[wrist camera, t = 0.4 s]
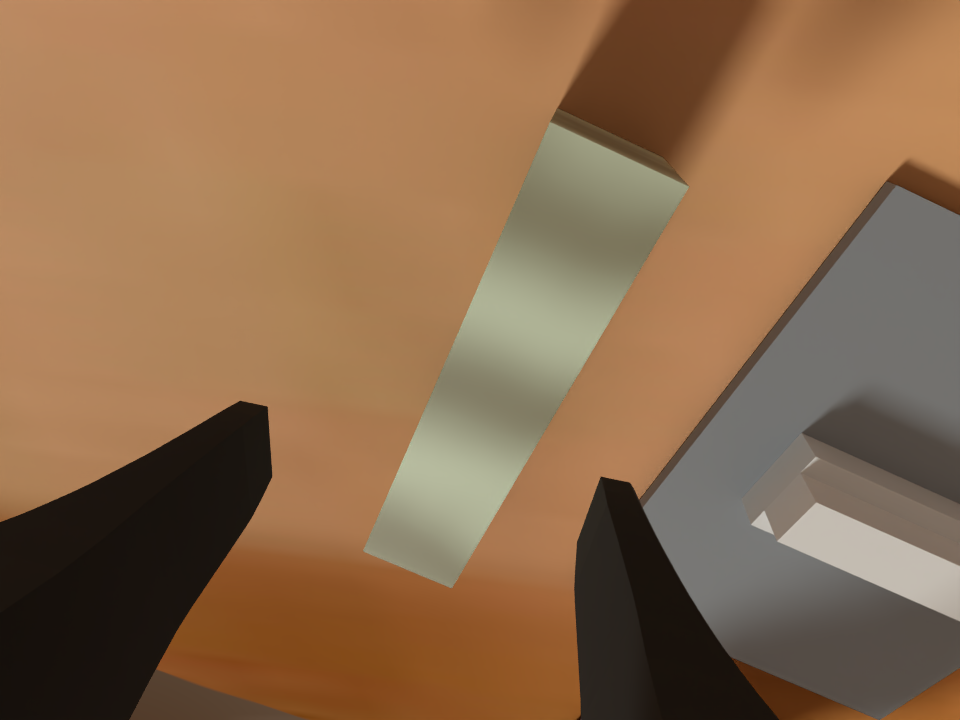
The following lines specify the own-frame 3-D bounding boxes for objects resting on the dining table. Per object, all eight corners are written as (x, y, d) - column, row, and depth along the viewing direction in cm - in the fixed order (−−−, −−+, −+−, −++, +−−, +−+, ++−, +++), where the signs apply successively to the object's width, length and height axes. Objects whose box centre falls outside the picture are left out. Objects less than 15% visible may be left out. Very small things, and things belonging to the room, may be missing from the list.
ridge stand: (873, 707, 27) (910, 789, 24) (576, 581, 26) (576, 649, 23) (1335, 396, 17) (1497, 468, 14) (886, 181, 17) (956, 207, 13)
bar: (473, 497, 25) (451, 588, 21) (400, 466, 25) (363, 551, 21) (661, 156, 17) (689, 186, 13) (557, 107, 17) (550, 121, 13)
